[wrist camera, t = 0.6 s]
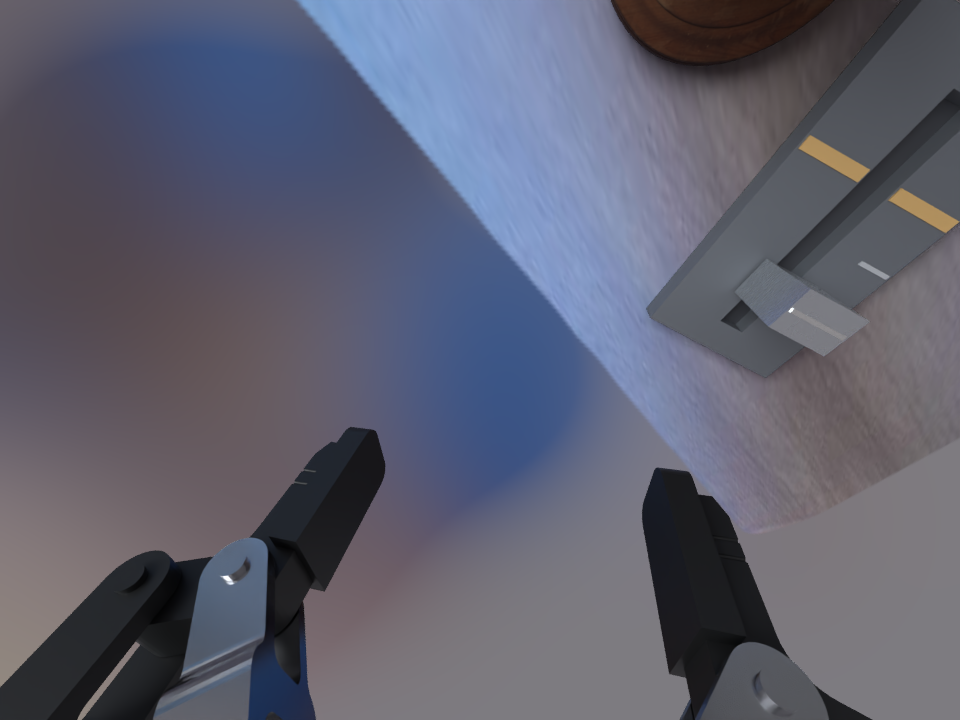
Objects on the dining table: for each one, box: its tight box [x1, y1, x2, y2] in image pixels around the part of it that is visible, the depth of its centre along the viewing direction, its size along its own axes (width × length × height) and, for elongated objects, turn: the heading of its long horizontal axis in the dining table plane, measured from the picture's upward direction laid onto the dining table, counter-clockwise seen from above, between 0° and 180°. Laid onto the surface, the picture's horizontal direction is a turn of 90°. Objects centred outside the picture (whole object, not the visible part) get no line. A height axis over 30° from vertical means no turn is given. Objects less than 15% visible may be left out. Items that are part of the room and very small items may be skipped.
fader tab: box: [735, 259, 870, 356], centre depth 26 cm, size 3×4×8 cm
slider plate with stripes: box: [646, 0, 960, 378], centre depth 26 cm, size 22×12×2 cm, turn 156°
